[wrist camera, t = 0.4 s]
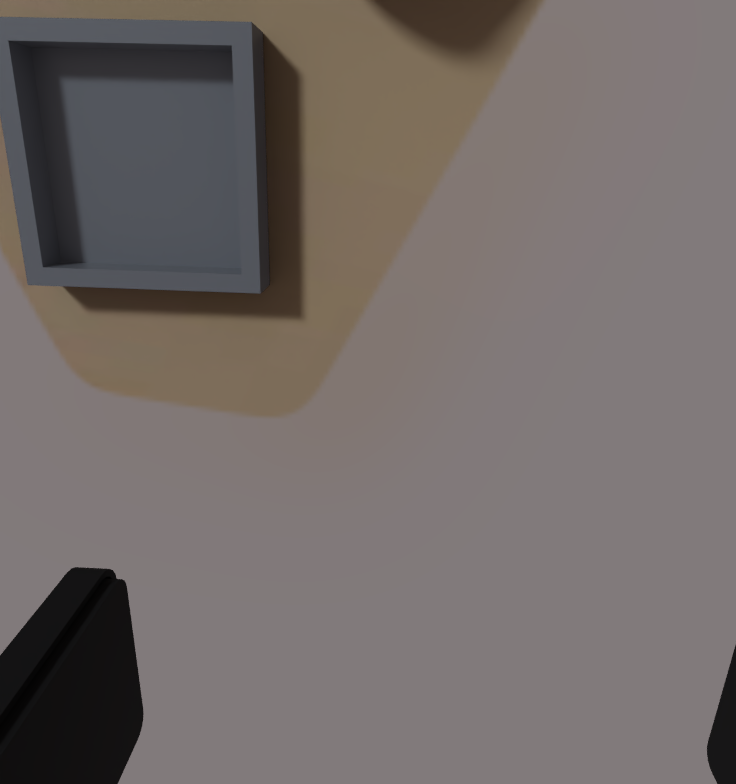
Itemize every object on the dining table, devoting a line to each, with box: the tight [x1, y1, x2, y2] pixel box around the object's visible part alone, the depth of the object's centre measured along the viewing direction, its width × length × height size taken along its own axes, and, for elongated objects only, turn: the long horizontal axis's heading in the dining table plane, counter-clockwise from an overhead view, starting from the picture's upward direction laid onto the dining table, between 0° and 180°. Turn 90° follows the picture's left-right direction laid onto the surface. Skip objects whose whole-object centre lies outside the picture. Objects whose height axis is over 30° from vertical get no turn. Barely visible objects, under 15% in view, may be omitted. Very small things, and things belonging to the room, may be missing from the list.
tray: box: [0, 17, 270, 293], centre depth 34 cm, size 13×13×3 cm
